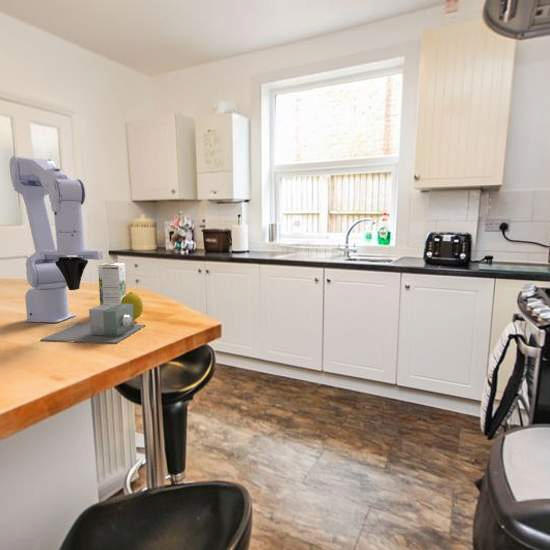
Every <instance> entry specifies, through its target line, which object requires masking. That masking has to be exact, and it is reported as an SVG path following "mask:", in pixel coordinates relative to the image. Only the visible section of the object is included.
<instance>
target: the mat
mask: <svg viewBox="0 0 550 550" xmlns="http://www.w3.org/2000/svg"><path fill="white" fill-rule="evenodd" d="M144 326H145V327H146V325H145V324H134V328H133V329H132V330H130V331H128V332H127V333H125V334H123V335H121V336H120V337H118V338H107V337H105V335H91V331H90V322H78V323H76V324H73V325H70V326H69V327H67V328H64V329H61V330H59V331H57V332H55V333H52V334H50V335H48V336H46V337H45V336H44V337H42V338H41V339H40V341H41V342H59V341H74V342H73V343H87V342H94V343H93V344H114V343H117V344H118V342H119V343H121V342H122V341H123V340H125V339H127V338H128V337H130V336H132V335H134V334H135V333H136V331H137V330H138V331H139V329H140V330H142V329H143V328H145V327H144ZM142 327H143V328H142ZM141 328H142V329H141ZM138 331H137V332H138ZM134 332H135V333H134ZM131 334H132V335H131ZM126 337H127V338H126Z"/></svg>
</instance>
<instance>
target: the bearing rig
mask: <svg viewBox="0 0 550 550" xmlns="http://www.w3.org/2000/svg"><path fill="white" fill-rule="evenodd" d="M103 318H104V333H105V337H107V338H118V337H120V336H121V335H123V334H125V333H127V332H128V331H130V330H132V329H133V328H134V325H135V320H134V316H133V304H119V305H117V306H114V307H112V308H110V309H107V310H105V311H103Z"/></svg>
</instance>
